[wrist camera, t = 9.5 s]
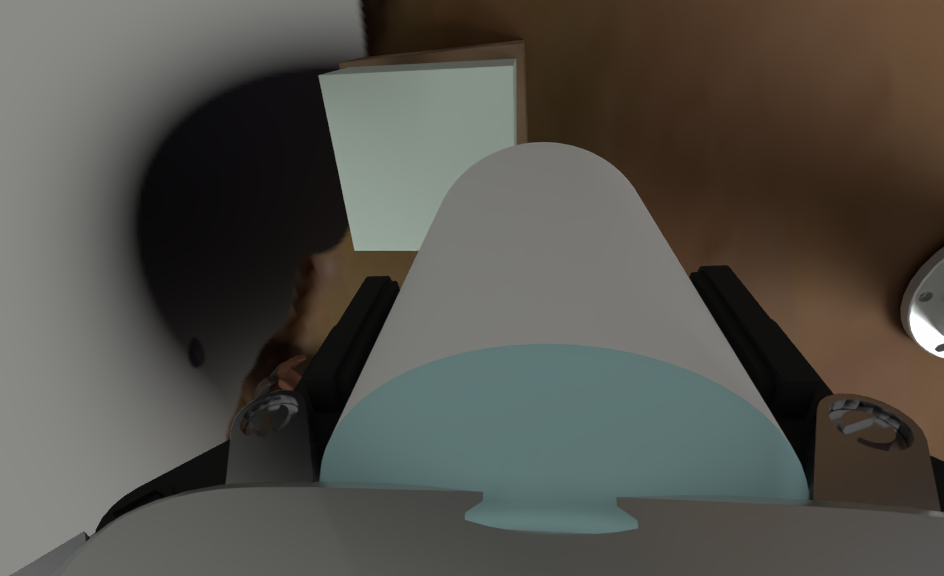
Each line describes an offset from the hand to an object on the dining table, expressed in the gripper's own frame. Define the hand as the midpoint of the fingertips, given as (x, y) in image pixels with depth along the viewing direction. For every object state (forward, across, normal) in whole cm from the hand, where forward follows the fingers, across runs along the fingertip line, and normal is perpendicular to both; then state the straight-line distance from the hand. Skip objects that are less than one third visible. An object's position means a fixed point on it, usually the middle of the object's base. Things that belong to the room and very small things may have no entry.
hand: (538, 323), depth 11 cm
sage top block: (+19, +6, 0) cm, 20 cm away
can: (+5, 0, 0) cm, 5 cm away
